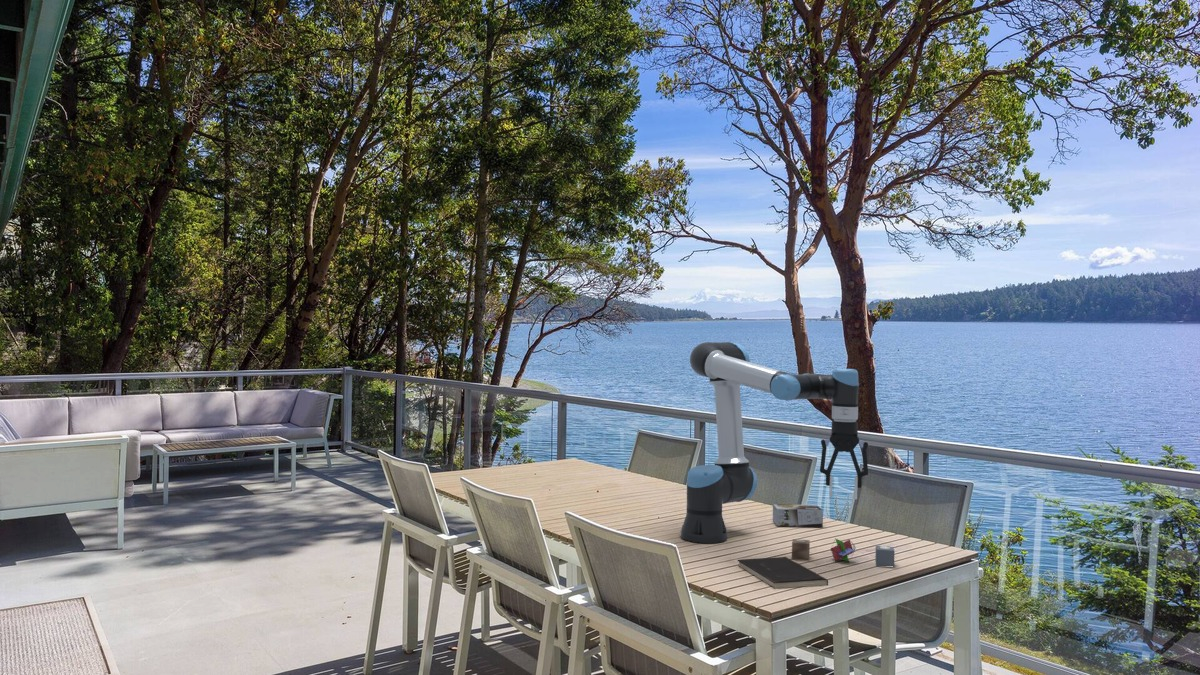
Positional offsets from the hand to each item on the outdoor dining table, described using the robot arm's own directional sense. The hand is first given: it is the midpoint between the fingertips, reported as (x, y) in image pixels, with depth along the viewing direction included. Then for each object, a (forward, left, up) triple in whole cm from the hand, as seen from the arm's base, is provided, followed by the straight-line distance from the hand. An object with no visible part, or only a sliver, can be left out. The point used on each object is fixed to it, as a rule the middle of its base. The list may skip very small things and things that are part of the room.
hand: (843, 497), depth 253 cm
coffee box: (+9, +50, -16) cm, 53 cm away
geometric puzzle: (0, 0, -19) cm, 19 cm away
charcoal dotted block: (+10, -7, -19) cm, 23 cm away
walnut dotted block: (-10, +7, -19) cm, 23 cm away
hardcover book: (-26, -7, -20) cm, 33 cm away
